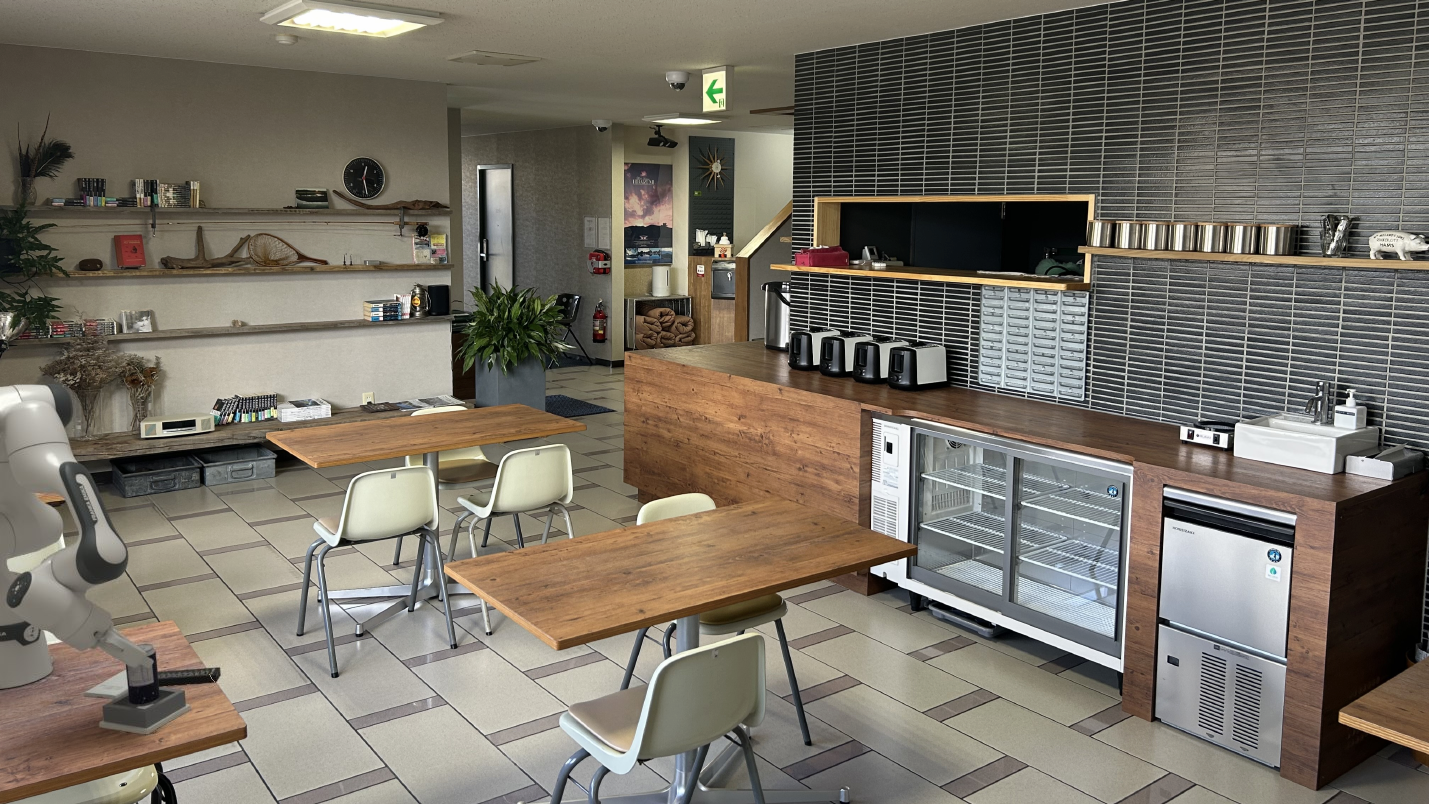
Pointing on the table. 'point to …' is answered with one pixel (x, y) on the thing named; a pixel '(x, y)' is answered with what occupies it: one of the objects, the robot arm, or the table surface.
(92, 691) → the external hard drive
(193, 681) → the multiport hub
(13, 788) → the table surface
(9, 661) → the robot arm
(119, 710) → the square holder
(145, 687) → the beverage can
